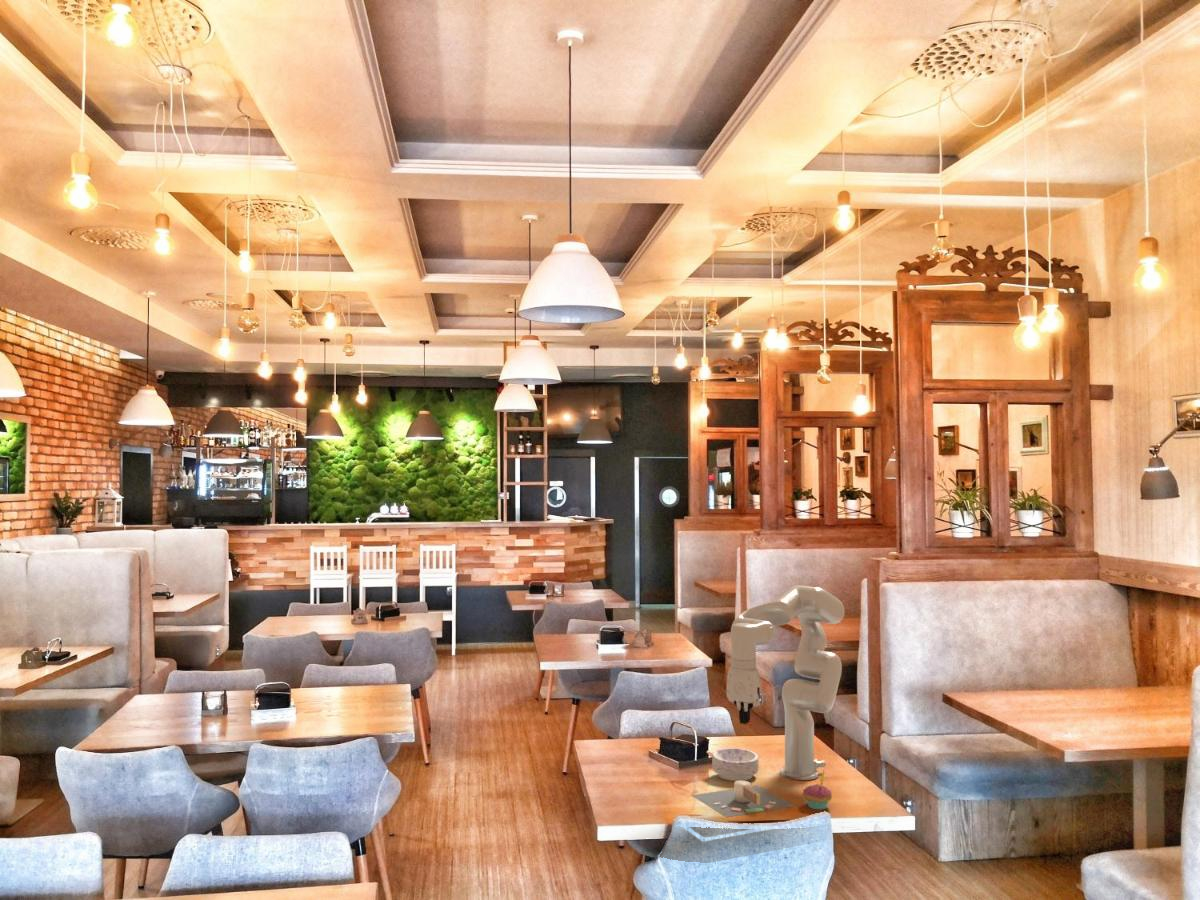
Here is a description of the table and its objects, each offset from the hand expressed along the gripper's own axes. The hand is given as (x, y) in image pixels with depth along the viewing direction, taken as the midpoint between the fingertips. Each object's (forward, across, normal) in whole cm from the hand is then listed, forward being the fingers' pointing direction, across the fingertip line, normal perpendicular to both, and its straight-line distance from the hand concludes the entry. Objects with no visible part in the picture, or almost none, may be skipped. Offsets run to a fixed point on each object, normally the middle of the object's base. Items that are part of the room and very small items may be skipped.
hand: (744, 722), depth 286 cm
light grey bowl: (+24, -12, +14) cm, 30 cm away
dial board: (+23, +2, -5) cm, 24 cm away
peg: (+22, +5, -7) cm, 24 cm away
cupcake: (+24, +21, +5) cm, 32 cm away
